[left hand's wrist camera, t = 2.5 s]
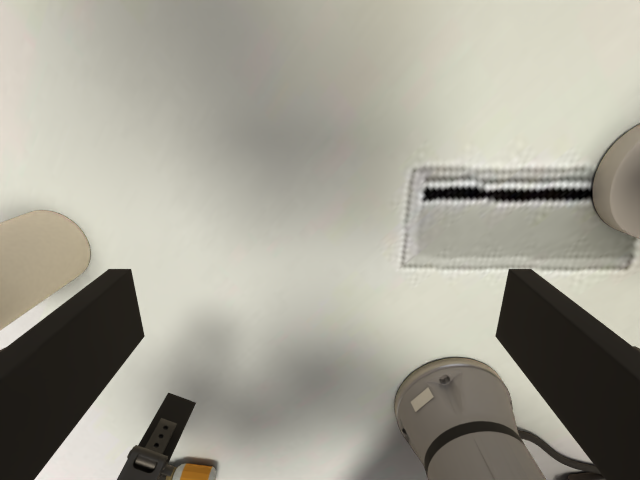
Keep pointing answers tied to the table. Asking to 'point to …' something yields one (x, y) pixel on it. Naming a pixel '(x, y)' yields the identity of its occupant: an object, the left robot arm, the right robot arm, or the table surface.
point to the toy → (586, 476)
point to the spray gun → (191, 473)
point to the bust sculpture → (620, 185)
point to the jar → (37, 260)
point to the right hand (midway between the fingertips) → (161, 446)
